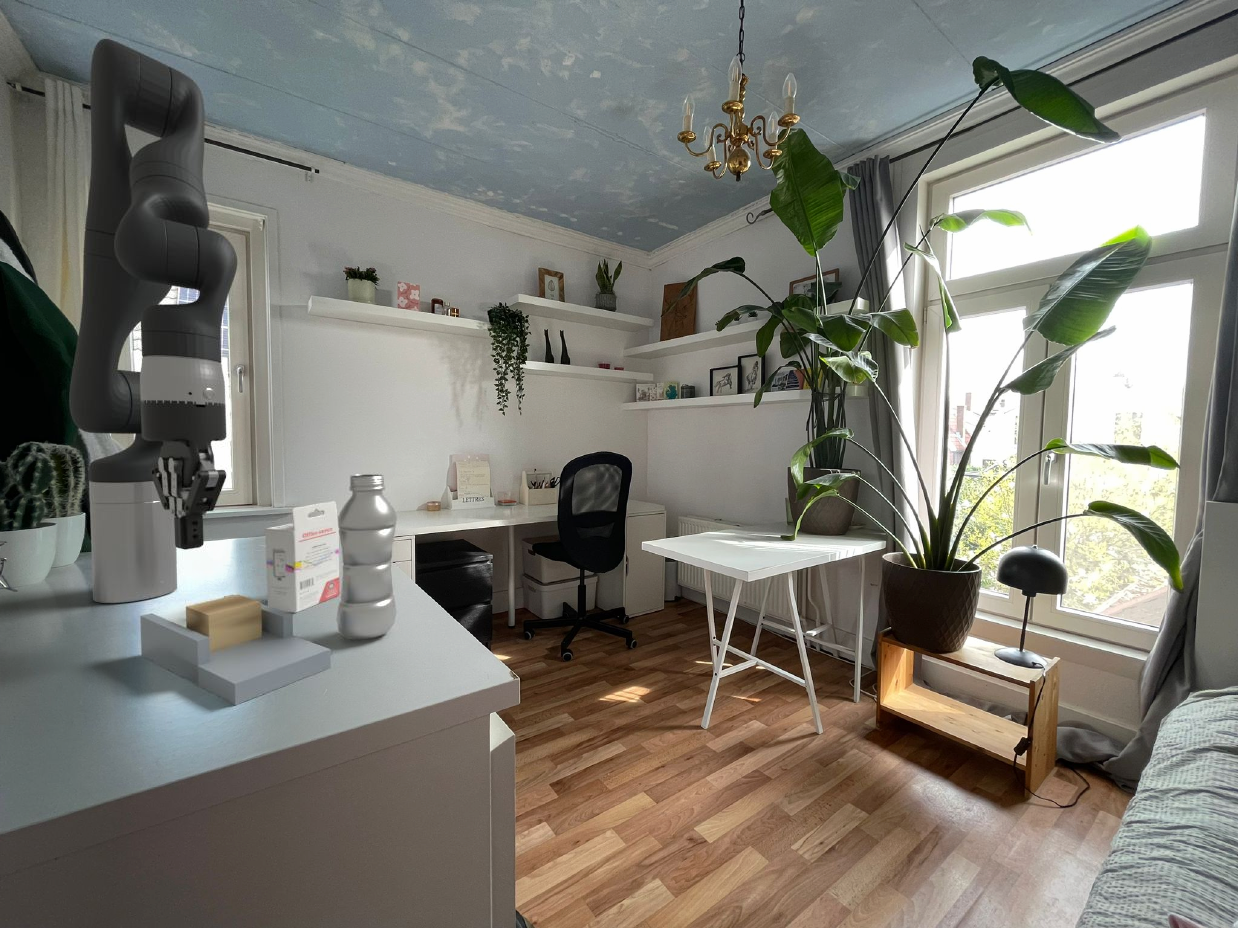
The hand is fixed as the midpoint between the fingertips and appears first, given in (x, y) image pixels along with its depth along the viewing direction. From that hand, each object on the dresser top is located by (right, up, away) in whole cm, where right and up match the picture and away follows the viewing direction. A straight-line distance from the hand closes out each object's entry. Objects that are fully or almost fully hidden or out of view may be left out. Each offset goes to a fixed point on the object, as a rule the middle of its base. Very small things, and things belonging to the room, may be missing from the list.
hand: (189, 547), depth 60 cm
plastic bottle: (+19, -12, +4) cm, 23 cm away
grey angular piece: (+9, -12, -4) cm, 15 cm away
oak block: (+7, -10, -4) cm, 12 cm away
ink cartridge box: (+4, -11, +15) cm, 19 cm away
